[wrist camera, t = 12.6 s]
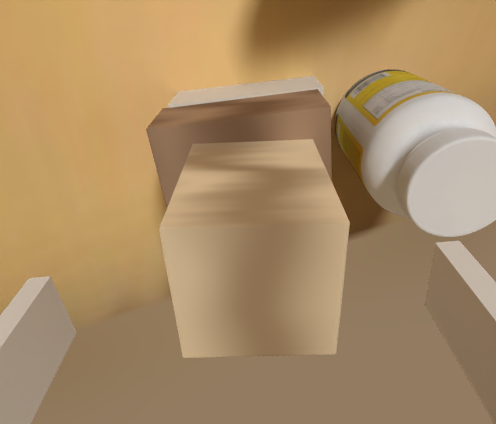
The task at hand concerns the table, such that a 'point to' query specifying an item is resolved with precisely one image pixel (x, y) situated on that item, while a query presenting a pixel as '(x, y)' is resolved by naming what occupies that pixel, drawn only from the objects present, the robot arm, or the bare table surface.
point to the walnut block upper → (237, 128)
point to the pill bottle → (421, 151)
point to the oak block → (255, 250)
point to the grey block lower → (245, 91)
